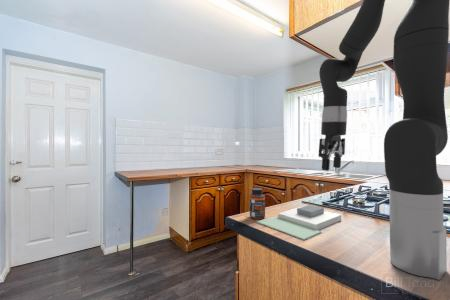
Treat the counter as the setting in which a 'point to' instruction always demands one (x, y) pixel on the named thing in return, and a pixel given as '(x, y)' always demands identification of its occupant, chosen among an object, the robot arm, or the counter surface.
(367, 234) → the counter surface
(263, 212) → the supplement bottle
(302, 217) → the riser
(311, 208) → the grey flat block
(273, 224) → the mat
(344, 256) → the counter surface
